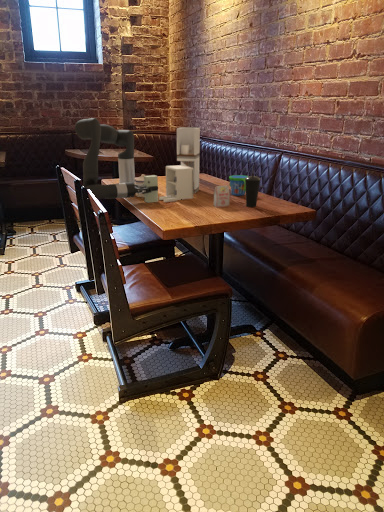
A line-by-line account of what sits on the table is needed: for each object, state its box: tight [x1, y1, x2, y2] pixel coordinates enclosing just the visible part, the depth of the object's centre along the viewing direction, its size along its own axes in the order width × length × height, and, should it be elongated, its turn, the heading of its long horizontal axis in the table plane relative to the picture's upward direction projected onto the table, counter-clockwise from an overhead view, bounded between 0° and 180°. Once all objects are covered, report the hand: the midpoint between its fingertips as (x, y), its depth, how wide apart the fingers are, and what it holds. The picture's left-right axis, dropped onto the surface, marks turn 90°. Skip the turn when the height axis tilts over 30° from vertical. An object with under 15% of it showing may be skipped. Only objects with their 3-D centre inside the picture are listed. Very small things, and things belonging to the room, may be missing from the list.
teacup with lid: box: [135, 174, 146, 198], centre depth 221 cm, size 12×9×12 cm
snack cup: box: [228, 174, 249, 196], centre depth 224 cm, size 16×10×10 cm
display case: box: [176, 127, 201, 194], centre depth 229 cm, size 11×11×35 cm
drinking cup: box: [245, 165, 261, 208], centre depth 197 cm, size 8×8×20 cm
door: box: [143, 174, 159, 203], centre depth 206 cm, size 5×6×13 cm
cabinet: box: [158, 164, 194, 203], centre depth 214 cm, size 15×18×16 cm
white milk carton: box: [213, 185, 230, 208], centre depth 198 cm, size 4×7×10 cm, turn 109°
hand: (155, 187), depth 208 cm, fingers closed on door, 3 cm apart
